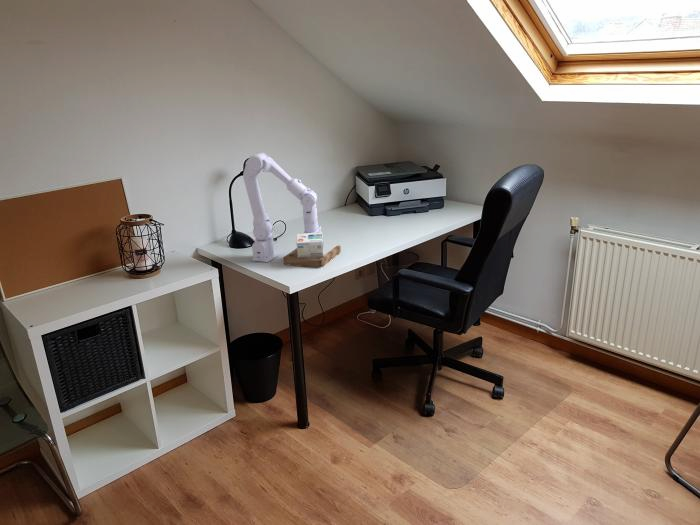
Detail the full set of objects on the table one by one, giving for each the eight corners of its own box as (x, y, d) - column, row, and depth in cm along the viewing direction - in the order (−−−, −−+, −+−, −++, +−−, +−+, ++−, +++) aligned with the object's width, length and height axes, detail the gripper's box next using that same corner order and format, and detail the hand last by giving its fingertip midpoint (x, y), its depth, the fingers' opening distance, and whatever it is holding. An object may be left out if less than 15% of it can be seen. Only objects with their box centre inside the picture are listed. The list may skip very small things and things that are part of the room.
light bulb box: (324, 252, 243) (322, 231, 236) (324, 262, 238) (322, 241, 231) (298, 253, 243) (296, 232, 236) (298, 263, 238) (296, 242, 231)
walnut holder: (321, 267, 231) (321, 260, 230) (283, 264, 238) (283, 257, 237) (340, 252, 249) (340, 245, 248) (305, 249, 255) (304, 242, 254)
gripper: (312, 226, 231) (314, 258, 235) (326, 216, 243) (328, 247, 248) (296, 225, 233) (299, 256, 238) (311, 215, 246) (313, 245, 250)
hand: (313, 251), depth 243 cm, fingers closed, pressing on light bulb box
